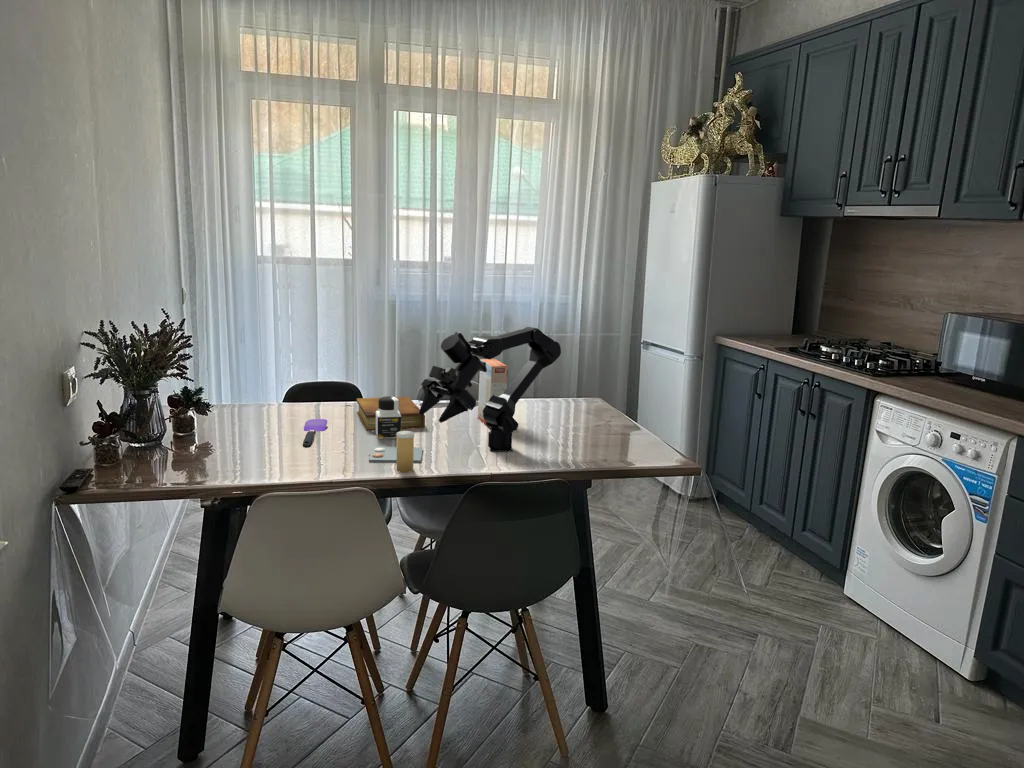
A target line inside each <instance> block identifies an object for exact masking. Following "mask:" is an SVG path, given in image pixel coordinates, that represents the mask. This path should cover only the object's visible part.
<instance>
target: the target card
mask: <svg viewBox="0 0 1024 768" xmlns="http://www.w3.org/2000/svg"><path fill="white" fill-rule="evenodd" d="M422 455H423V447H421V446H420V447H417V446H416V447H415V446H414V451H413V463H417V462H419V463H420V462H421V463H422ZM368 462H370V463H397V446H373V448H372V450H371V454H370V457H369V459H368ZM419 463H418V464H419Z"/></svg>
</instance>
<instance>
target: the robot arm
mask: <svg viewBox="0 0 1024 768" xmlns="http://www.w3.org/2000/svg"><path fill="white" fill-rule="evenodd" d="M526 344H527V346H528V347H529V348H530V351H529V358H528V361H526V363H525V364H524V366H523V367H522V368H521V370H520V371H519V372H518V374H516V376H515V377H514V379H513V380H512V381H511V383H510V384H509V385H507V389H506V390H505V391H504V393H503V394H502V395H500V396H496V395H492V396H491V398H490V399H489V401H488V402H487V403H486V404H485V408H484V409H483V418H484V420H485V422H486V425H485V426H486V427H488V428H489V427H491V428H490V431H488V432H487V433H488V434H487V437H488V438H487V448H488V449H489V451H491V452H513V448H512V447H513V432H515V431H518V427H519V423H518V421H517V420H516V419H515V418H514V416H515V411H516V405H517V403H518V402H519V401H520V399H521V398H522V396H524V394H525V393H526V391H527V390H528V389H529V388H530V386H531V385H532V383H533V382H534V380H535V379H536V378H537V377H538V376H539V374H540V373H541V371H543V369H545V368H547V367H549V366H551V365H552V364H554V363H555V362H556V361H557V360H558V359H559V358H560V356H561V354H562V349H561V345H560V343H559V342H558V341H557V340H554V339H552V337H549V336H548V335H546V334H545V333H544V332H543V331H541V329H539V328H537V327H532V326H525V327H524V328H521V329H518V330H514V331H511V332H507V333H503V334H500V335H478V336H474V337H473V338H472V339H471V340H470V341H467V339H466V338H465V337H464V335H463V334H462V332H458V331H456V332H454V333H453V334H451V335H449V336H447V337H446V338H444V339H443V341H441V343H440V349H441V350H442V351H443V352H444V354H445V355H446V356H447V357H448V359H450V361H451V362H452V363H453V364H457V365H456V366H455V367H454V368H453V367H451V366H448V367H446V368H444V367H440V366H436V365H432V366H431V370H430V372H429V374H428V377H430V378H425V379H423V381H422V382H421V383H420V385H421V387H422V390H423V393H424V396H423V399H422V402H421V405H420V408H419V409H420V411H419V414H420V415H423V414H424V415H425V414H426V413H427V412H428V411H430V410H431V409H432V408H434V406H436V405H438V403H440V401H441V399H442V398H443V397H444V396H445V397H448V398H449V402H448V404H447V405H446V407H445V408H444V410H443V412H442V413H441V415H440V417H438V418H439V419H438V422H439V423H441V424H442V423H444V422H446V421H447V420H450V419H451V418H454V417H456V416H458V415H460V414H463V413H464V412H468V411H473V410H474V408H475V407H476V406H477V399H475V397H474V396H473V395H472V394H471V392H469V390H467V387H468V388H471V387H472V386H473V383H472V380H473V379H474V378H476V377H475V376H476V375H477V374H478V372H480V371H482V372H487V368H486V362H482V361H480V358H481V359H495V358H496V357H498V356H501V354H502V352H503V351H506V350H509V349H512V348H516V347H519V346H523V345H526ZM432 378H434V379H432ZM435 379H436V380H435ZM437 380H438V381H437Z"/></svg>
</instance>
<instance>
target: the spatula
mask: <svg viewBox="0 0 1024 768" xmlns="http://www.w3.org/2000/svg"><path fill="white" fill-rule="evenodd" d="M327 424H328V420H327V419H326V418H315V419H314V418H313V419H309V420H307V421H305V423H304V425H303V431H304V432H306V434H305V437H304V439H303V442H302V446H303V448H309V447H311V445H312V443H313V441H314V436H315V433H316V432H325V431H326V428H327Z"/></svg>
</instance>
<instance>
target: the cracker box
mask: <svg viewBox="0 0 1024 768" xmlns="http://www.w3.org/2000/svg"><path fill="white" fill-rule="evenodd" d="M479 359H480V358H479ZM480 361H482V362H486V368H487V372H482V371H479V381H478V383H479V384H478V386H479V387H478V403H477V404H478V405H477V418H478V420H479V421H481V422H482V423H483V424H484V425H485V426H486V422H485V420H484V418H483V409H484V408H485V404H486V403H487V402H488V401H489V399H490V398H491V396H492V395H496V396H500V395H502V394H503V393H504V391H505V390H506V389H507V388H508V372H509V371H508V370H509V366H508V365H506V364H505V363H503V362H501V361H499V360H498V359H496V358H492V359H485V358H481V359H480ZM488 428H489V429H491V427H488Z"/></svg>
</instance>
